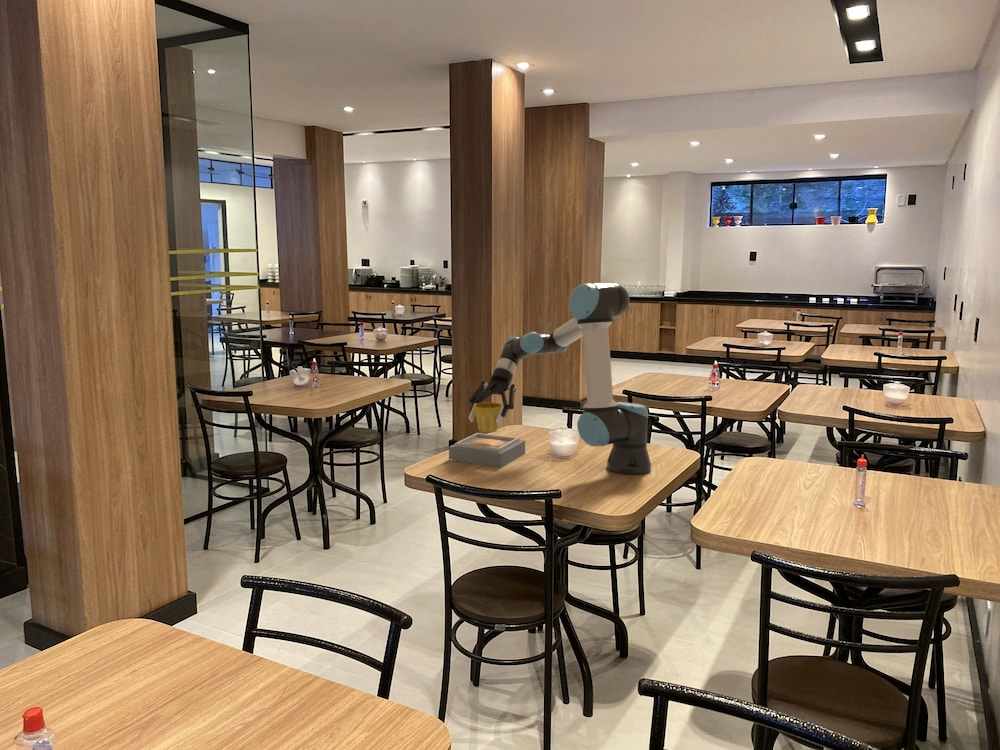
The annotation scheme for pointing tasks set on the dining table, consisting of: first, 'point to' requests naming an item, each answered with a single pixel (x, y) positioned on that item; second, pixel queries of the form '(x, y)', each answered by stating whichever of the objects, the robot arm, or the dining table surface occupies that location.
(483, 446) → the grey square tray
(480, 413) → the plant pot
